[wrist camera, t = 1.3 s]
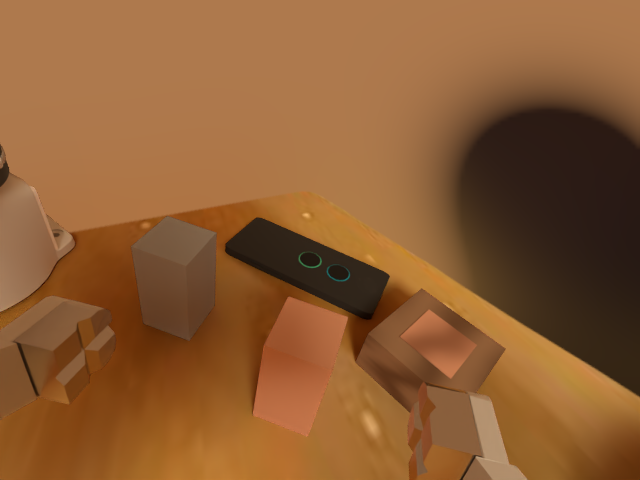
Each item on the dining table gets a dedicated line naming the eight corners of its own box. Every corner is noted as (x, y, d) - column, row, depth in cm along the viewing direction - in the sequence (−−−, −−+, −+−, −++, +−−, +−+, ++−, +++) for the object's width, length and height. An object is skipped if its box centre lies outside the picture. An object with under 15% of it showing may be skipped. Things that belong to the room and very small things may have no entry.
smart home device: (372, 315, 41) (222, 245, 46) (368, 325, 42) (222, 255, 47) (391, 273, 48) (258, 214, 52) (387, 282, 49) (257, 224, 53)
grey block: (143, 323, 36) (130, 246, 30) (172, 290, 40) (167, 215, 34) (189, 340, 36) (186, 266, 30) (214, 305, 40) (216, 232, 34)
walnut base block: (354, 363, 38) (368, 333, 35) (406, 317, 44) (422, 287, 41) (438, 441, 33) (462, 413, 30) (482, 376, 40) (506, 348, 37)
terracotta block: (252, 415, 32) (263, 345, 25) (274, 366, 35) (288, 296, 29) (307, 436, 31) (332, 370, 25) (323, 385, 35) (348, 317, 29)
